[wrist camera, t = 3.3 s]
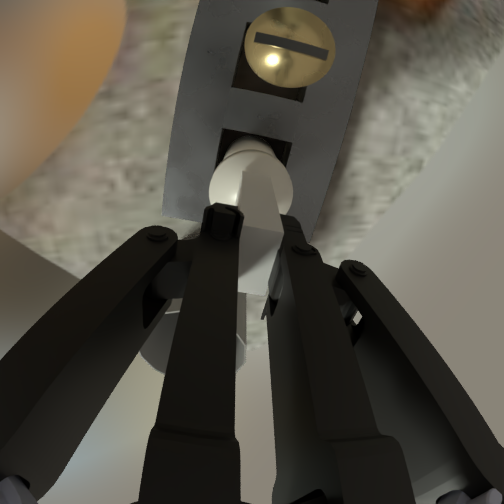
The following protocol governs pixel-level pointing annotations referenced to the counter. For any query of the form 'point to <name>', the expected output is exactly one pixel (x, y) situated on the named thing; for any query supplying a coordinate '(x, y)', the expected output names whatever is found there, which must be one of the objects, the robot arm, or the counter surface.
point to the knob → (252, 160)
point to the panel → (262, 105)
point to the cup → (163, 333)
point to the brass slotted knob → (289, 47)
